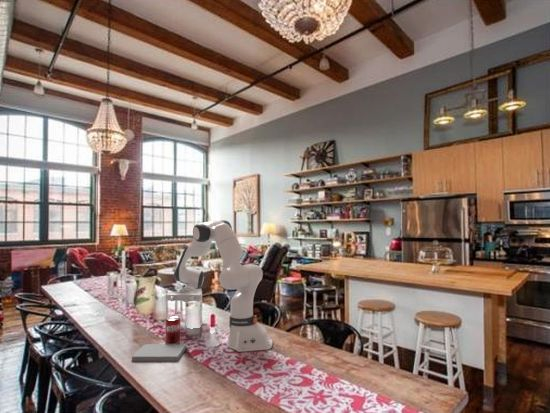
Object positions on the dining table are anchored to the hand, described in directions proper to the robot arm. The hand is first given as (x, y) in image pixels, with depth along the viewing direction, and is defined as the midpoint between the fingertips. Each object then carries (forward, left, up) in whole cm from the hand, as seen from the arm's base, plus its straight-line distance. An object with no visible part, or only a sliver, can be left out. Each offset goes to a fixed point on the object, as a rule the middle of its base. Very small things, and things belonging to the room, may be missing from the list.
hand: (180, 299), depth 177 cm
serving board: (+1, +28, -18) cm, 33 cm away
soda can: (0, +13, -18) cm, 22 cm away
